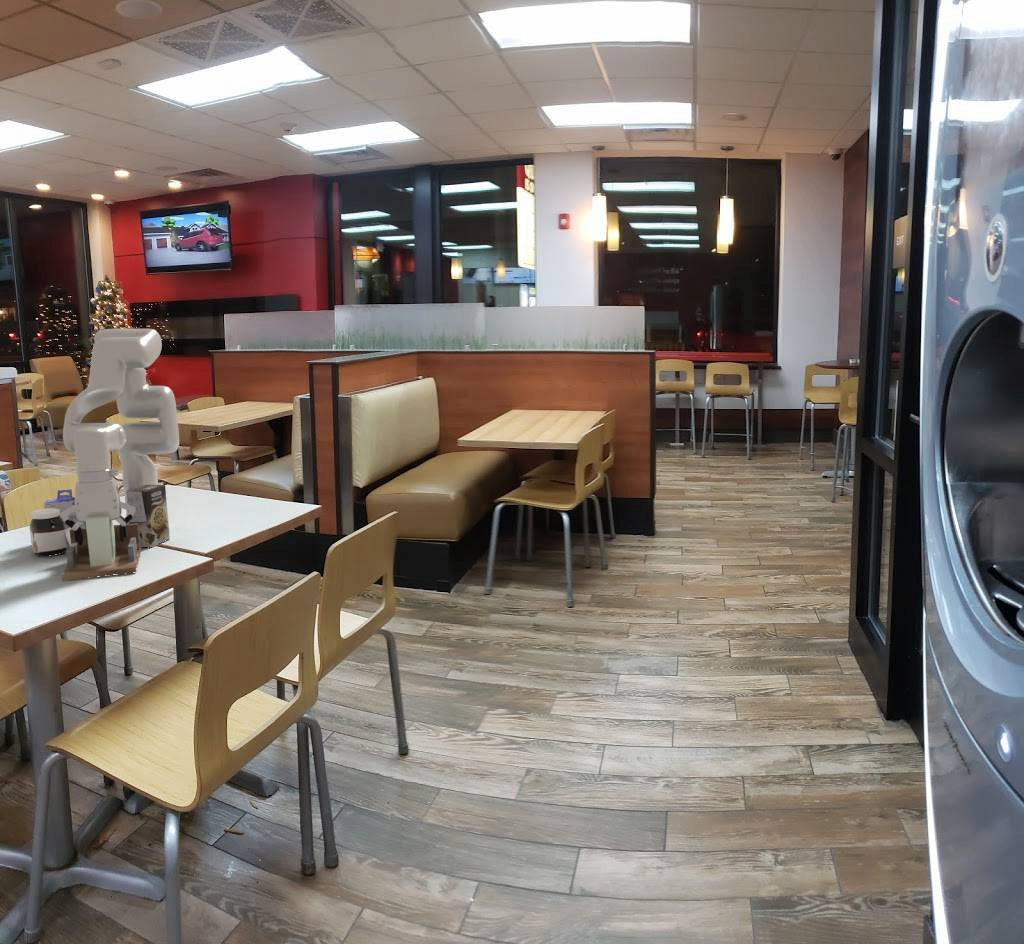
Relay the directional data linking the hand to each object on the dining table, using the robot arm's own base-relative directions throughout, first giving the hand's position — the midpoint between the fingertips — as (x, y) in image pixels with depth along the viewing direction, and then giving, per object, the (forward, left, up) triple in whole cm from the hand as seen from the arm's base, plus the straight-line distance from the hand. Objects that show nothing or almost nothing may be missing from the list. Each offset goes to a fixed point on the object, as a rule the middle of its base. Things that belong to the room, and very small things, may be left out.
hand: (101, 542), depth 205 cm
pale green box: (0, 0, -5) cm, 5 cm away
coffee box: (-18, +10, -6) cm, 22 cm away
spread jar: (-18, -13, -6) cm, 23 cm away
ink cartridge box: (-30, -12, -6) cm, 33 cm away
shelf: (+1, 0, -6) cm, 6 cm away
